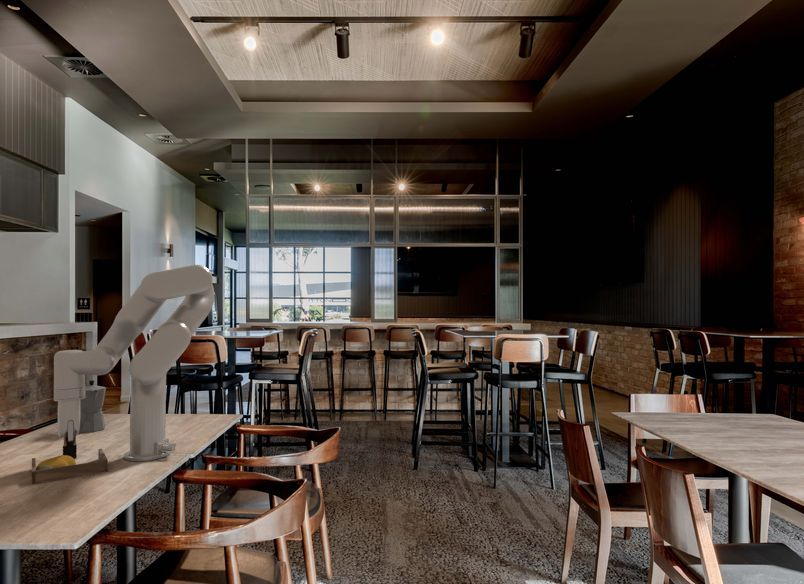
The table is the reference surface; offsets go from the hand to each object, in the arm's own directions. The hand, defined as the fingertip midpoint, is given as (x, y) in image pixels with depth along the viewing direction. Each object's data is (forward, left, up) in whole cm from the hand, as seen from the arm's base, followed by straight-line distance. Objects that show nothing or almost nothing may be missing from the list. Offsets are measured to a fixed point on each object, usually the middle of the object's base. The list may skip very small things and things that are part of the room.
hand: (69, 459), depth 145 cm
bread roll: (-1, +6, -2) cm, 6 cm away
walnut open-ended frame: (-4, +5, -2) cm, 7 cm away
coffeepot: (+27, -39, -2) cm, 47 cm away
